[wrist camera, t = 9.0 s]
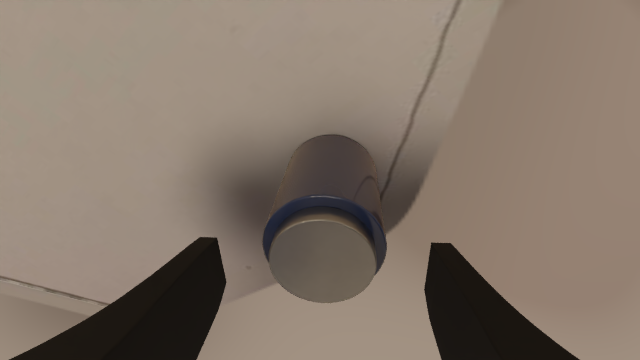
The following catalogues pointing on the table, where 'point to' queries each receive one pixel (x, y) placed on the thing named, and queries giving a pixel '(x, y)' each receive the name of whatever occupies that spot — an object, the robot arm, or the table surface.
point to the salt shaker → (326, 222)
